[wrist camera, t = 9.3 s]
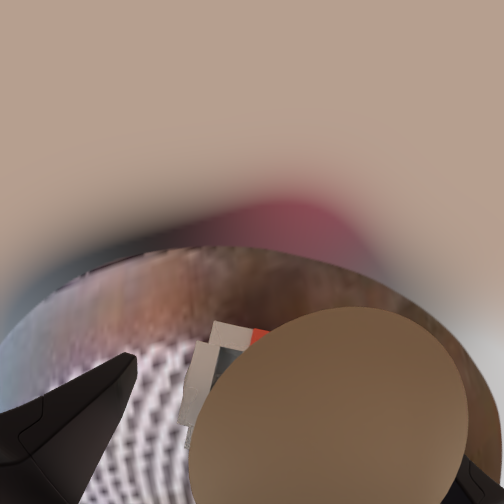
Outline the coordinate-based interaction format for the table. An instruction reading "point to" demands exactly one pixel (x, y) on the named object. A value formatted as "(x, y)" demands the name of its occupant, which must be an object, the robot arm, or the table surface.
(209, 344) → the stand
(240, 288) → the table surface
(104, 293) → the table surface
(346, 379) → the post
